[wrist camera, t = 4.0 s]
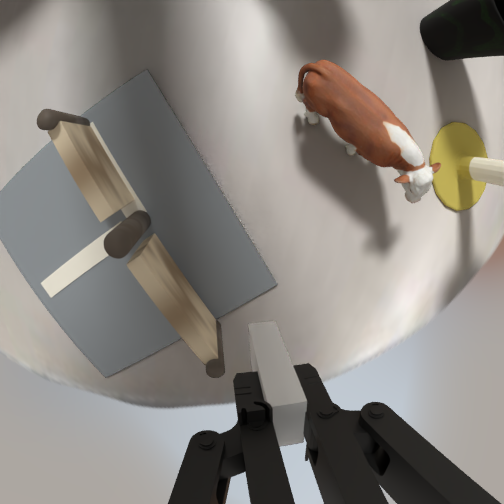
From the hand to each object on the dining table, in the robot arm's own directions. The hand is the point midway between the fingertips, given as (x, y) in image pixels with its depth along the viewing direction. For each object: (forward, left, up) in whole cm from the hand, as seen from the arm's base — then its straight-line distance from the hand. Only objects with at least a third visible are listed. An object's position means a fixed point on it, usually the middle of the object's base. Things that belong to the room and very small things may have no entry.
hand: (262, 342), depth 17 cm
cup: (-11, +31, -12) cm, 35 cm away
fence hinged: (-2, -5, -11) cm, 12 cm away
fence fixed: (-13, -5, -11) cm, 18 cm away
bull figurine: (-6, +14, -12) cm, 19 cm away
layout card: (-8, -8, -11) cm, 16 cm away
